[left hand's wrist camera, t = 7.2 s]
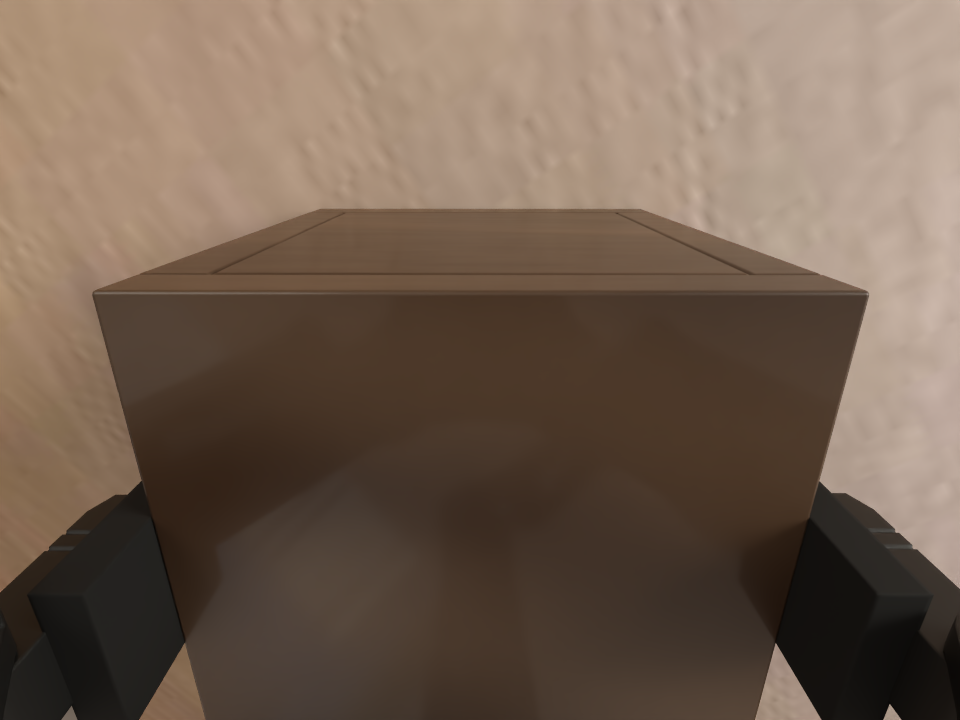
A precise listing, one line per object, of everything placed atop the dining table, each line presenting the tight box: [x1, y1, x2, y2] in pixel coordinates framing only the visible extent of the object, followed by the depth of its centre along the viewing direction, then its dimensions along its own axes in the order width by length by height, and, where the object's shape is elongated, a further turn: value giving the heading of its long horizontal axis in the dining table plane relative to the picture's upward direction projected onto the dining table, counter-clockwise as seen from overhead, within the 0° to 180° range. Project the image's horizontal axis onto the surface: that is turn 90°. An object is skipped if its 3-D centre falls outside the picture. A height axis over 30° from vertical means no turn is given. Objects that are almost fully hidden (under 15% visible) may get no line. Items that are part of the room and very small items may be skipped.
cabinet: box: [92, 209, 869, 720], centre depth 16 cm, size 21×11×11 cm, turn 0°
